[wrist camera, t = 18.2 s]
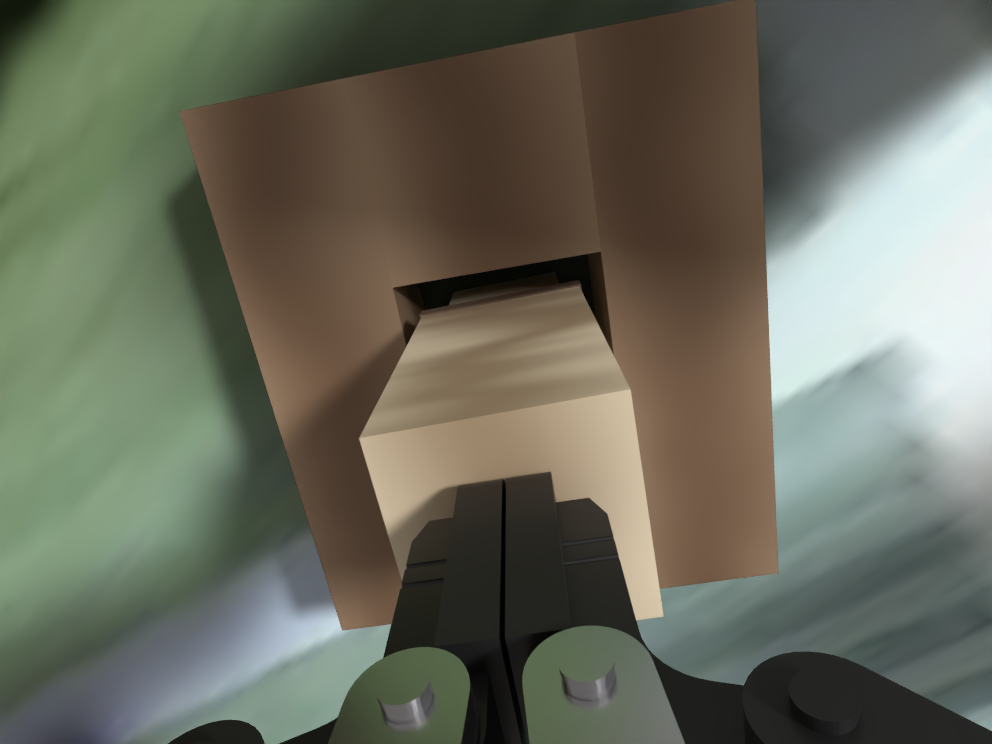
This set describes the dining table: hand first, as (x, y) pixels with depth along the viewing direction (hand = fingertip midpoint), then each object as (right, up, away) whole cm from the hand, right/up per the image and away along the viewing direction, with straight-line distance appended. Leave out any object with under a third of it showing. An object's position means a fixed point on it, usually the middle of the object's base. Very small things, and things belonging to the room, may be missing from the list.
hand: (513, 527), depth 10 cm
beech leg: (0, +4, +11) cm, 12 cm away
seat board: (0, +4, +11) cm, 12 cm away
